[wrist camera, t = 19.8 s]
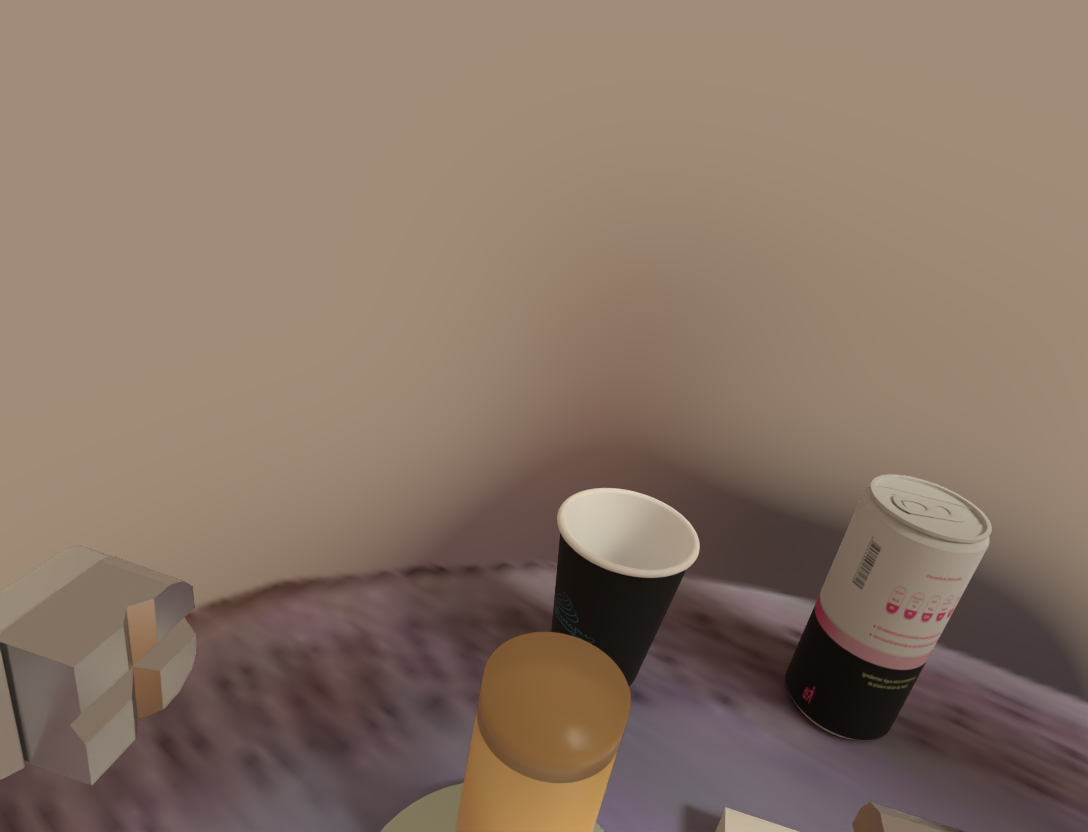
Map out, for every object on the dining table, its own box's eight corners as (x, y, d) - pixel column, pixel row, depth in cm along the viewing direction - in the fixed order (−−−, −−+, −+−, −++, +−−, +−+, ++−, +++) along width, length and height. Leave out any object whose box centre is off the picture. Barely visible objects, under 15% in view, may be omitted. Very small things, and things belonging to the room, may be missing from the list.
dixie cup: (503, 688, 43) (534, 534, 38) (555, 610, 49) (587, 472, 44) (631, 749, 40) (681, 594, 35) (667, 658, 47) (713, 518, 42)
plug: (543, 1011, 28) (619, 772, 22) (419, 963, 28) (461, 719, 22) (570, 884, 32) (639, 656, 26) (463, 845, 33) (507, 615, 27)
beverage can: (772, 655, 49) (851, 464, 42) (868, 672, 49) (961, 484, 43) (797, 736, 43) (893, 528, 36) (905, 754, 43) (1020, 551, 37)
